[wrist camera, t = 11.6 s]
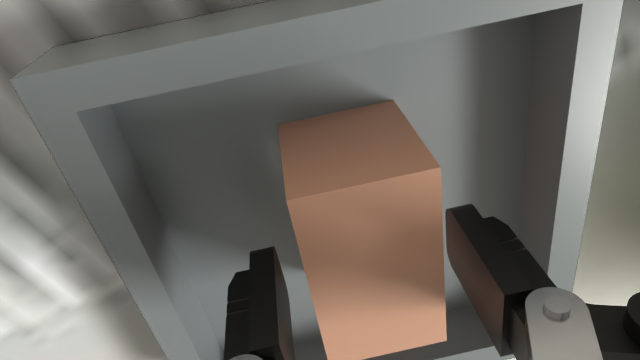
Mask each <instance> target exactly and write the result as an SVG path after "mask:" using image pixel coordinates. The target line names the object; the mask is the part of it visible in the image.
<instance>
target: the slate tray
mask: <svg viewBox="0 0 640 360" xmlns="http://www.w3.org/2000/svg"><path fill="white" fill-rule="evenodd" d="M622 6H623V0H272V1H268V2H263V3H258V4H253V5H249V6H244V7H239V8H235V9H230V10H225V11H220V12H216V13H211V14H206V15H201V16H197V17H192V18H187V19H183V20H178V21H173V22H168V23H164V24H159V25H154V26H150V27H145V28H140V29H135V30H131V31H126V32H121V33H116V34H112V35H107V36H102V37H98V38H93V39H88V40H83V41H79V42H74V43H69V44H64V45H60V46H55V47H52V48H51V49H50V50H48V51H47V52H46V53H44V54H43V55H42V56H40V57H39V58H38V59H36V60H35V61H34V62H32V63H31V64H30V65H28V66H27V67H26V68H24V69H23V70H22V71H20V72H19V73H18V74H16V75H15V76H14V77H12V78H11V79H10V82H11V84H12V86H13V88H14V89H15V91H16V93H17V95H18V96H19V98H20V100H21V102H22V103H23V105H24V107H25V109H26V110H27V112H28V114H29V116H30V118H31V119H32V121H33V123H34V125H35V126H36V128H37V130H38V132H39V133H40V135H41V137H42V139H43V140H44V142H45V144H46V146H47V148H48V149H49V151H50V153H51V155H52V156H53V158H54V160H55V162H56V163H57V165H58V167H59V169H60V170H61V172H62V174H63V176H64V178H65V179H66V181H67V183H68V185H69V186H70V188H71V190H72V192H73V193H74V195H75V197H76V199H77V200H78V202H79V204H80V206H81V208H82V209H83V211H84V213H85V215H86V216H87V218H88V220H89V222H90V223H91V225H92V227H93V229H94V230H95V232H96V234H97V236H98V238H99V239H100V241H101V243H102V245H103V246H104V248H105V250H106V252H107V253H108V255H109V257H110V259H111V260H112V262H113V264H114V266H115V268H116V269H117V271H118V273H119V275H120V276H121V278H122V280H123V282H124V283H125V285H126V287H127V289H128V290H129V292H130V294H131V296H132V298H133V299H134V301H135V303H136V305H137V306H138V308H139V310H140V312H141V313H142V315H143V317H144V319H145V320H146V322H147V324H148V326H149V328H150V329H151V331H152V333H153V335H154V336H155V338H156V340H157V342H158V343H159V345H160V347H161V349H162V350H163V352H164V354H165V356H166V358H167V359H168V360H224V345H225V329H226V316H227V313H226V312H227V304H228V302H227V296H228V286H229V284H230V282H231V280H232V278H233V277H234V275H235V273H236V272H240V271H244V270H249V260H250V251H255V250H259V249H264V248H268V247H273V246H274V247H275V249H276V252H277V255H278V259H279V262H280V265H281V269H282V272H283V275H284V279H285V282H286V286H287V290H288V296H289V303H290V313H291V324H292V334H293V345H294V355H295V360H328V359H327V355H326V351H325V348H324V344H323V340H322V336H321V332H320V328H319V325H318V321H317V317H316V313H315V309H314V305H313V301H312V298H311V294H310V290H309V286H308V282H307V278H306V275H305V271H304V267H303V263H302V259H301V255H300V252H299V248H298V244H297V240H296V236H295V232H294V228H293V225H292V221H291V217H290V213H289V209H288V205H287V202H286V194H285V185H284V176H283V168H282V159H281V150H280V142H279V133H278V125H279V124H284V123H288V122H293V121H298V120H302V119H307V118H312V117H316V116H321V115H326V114H330V113H335V112H340V111H345V110H349V109H354V108H359V107H363V106H368V105H373V104H377V103H382V102H387V101H391V100H394V101H395V103H396V104H397V106H398V107H399V108H400V110H401V111H402V113H403V114H404V116H405V117H406V118H407V120H408V121H409V123H410V124H411V125H412V127H413V128H414V130H415V131H416V133H417V134H418V135H419V137H420V138H421V140H422V141H423V143H424V144H425V145H426V147H427V148H428V150H429V151H430V153H431V154H432V155H433V157H434V158H435V160H436V161H437V162H438V164H439V165H440V167H441V185H442V215H443V244H444V274H445V303H446V332H447V341H443V342H439V343H434V344H430V345H425V346H421V347H416V348H412V349H407V350H403V351H398V352H394V353H389V354H385V355H380V356H376V357H371V358H367V359H362V360H507V359H511V358H515V356H514V354H512V355H507V356H503V357H500V355H499V353H498V351H497V350H496V348H495V346H494V344H493V342H492V340H491V339H490V337H489V335H488V333H487V331H486V329H485V327H484V326H483V324H482V322H481V320H480V318H479V316H478V315H477V313H476V311H475V309H474V307H473V305H472V304H471V302H470V300H469V298H468V296H467V294H466V292H465V291H464V289H463V287H462V285H461V283H460V281H459V280H458V278H457V276H456V274H455V272H454V270H453V268H452V266H451V264H450V261H449V258H448V254H447V248H446V221H445V212H446V209H448V208H452V207H457V206H462V205H466V204H473V205H474V206H475V208H476V209H477V211H478V212H479V213H480V215H481V216H482V217H483V218H487V217H492V216H494V217H495V218H497V219H499V220H500V221H502V222H504V223H505V224H507V225H509V227H510V228H511V229H512V231H513V232H514V233H515V234H516V236H517V237H518V240H520V241H521V242H522V243H523V245H524V246H525V247H526V250H528V251H529V252H530V254H531V255H532V256H533V257H534V259H535V260H536V261H537V262H538V264H539V265H540V266H541V268H542V269H543V270H544V271H545V273H546V274H547V275H548V276H549V278H550V279H551V280H552V282H553V283H554V284H555V285H556V287H557V288H561V289H564V290H567V291H570V292H572V291H573V285H574V279H575V274H576V268H577V262H578V257H579V251H580V245H581V239H582V234H583V228H584V222H585V217H586V211H587V205H588V200H589V194H590V188H591V182H592V177H593V171H594V165H595V160H596V154H597V148H598V143H599V137H600V131H601V125H602V120H603V114H604V108H605V103H606V97H607V91H608V86H609V80H610V74H611V68H612V63H613V57H614V51H615V46H616V40H617V34H618V29H619V23H620V17H621V11H622Z"/></svg>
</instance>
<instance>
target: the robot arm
mask: <svg viewBox="0 0 640 360" xmlns="http://www.w3.org/2000/svg"><path fill="white" fill-rule="evenodd" d="M445 221H446V248H447V254H448V258H449V261H450V264H451V266H452V268H453V270H454V272H455V274H456V276H457V278H458V280H459V281H460V283H461V285H462V287H463V289H464V291H465V292H466V294H467V296H468V298H469V300H470V302H471V304H472V305H473V307H474V309H475V311H476V313H477V315H478V316H479V318H480V320H481V322H482V324H483V326H484V327H485V329H486V331H487V333H488V335H489V337H490V339H491V340H492V342H493V344H494V346H495V348H496V350H497V351H498V353H499V355H500V357H503V356H507V355H512V354H514V356H515V358H516V359H517V360H640V292H639V293H636V294H635V295H633V296H632V297H631V298H630V299H629V301H628V304H627V306H609V305H593V304H587V303H585V302H584V301H583V300H582V299H581V298H579V297H578V296H577V295H575V294H574V293H572V292H570V291H567V290H564V289H561V288H557V287H556V285H555V284H554V283H553V282H552V280H551V279H550V278H549V276H548V275H547V274H546V273H545V271H544V270H543V269H542V268H541V266H540V265H539V264H538V262H537V261H536V260H535V259H534V257H533V256H532V255H531V254H530V252H529V251H528V250H526V247H525V246H524V245H523V243H522V242H521V241H520V240H518V237H517V236H516V234H515V233H514V232H513V231H512V229H511V228H510V227H509V225H507V224H505V223H504V222H502V221H500V220H499V219H497V218H495V217H494V216H492V217H487V218H483V217H482V216H481V215H480V213H479V212H478V211H477V209H476V208H475V206H474V205H473V204H466V205H462V206H457V207H452V208H448V209H446V212H445ZM227 302H228V304H227V312H226V313H227V316H226V329H225V345H224V360H295V355H294V345H293V334H292V324H291V313H290V303H289V296H288V290H287V286H286V282H285V279H284V275H283V272H282V269H281V265H280V262H279V259H278V255H277V252H276V249H275V247H274V246H273V247H268V248H264V249H259V250H255V251H250V260H249V270H244V271H240V272H236V273H235V275H234V277H233V278H232V280H231V282H230V284H229V286H228V296H227Z"/></svg>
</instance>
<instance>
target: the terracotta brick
mask: <svg viewBox="0 0 640 360" xmlns="http://www.w3.org/2000/svg"><path fill="white" fill-rule="evenodd" d="M278 133H279V142H280V150H281V159H282V168H283V176H284V185H285V194H286V202H287V205H288V209H289V213H290V217H291V221H292V225H293V228H294V232H295V236H296V240H297V244H298V248H299V252H300V255H301V259H302V263H303V267H304V271H305V275H306V278H307V282H308V286H309V290H310V294H311V298H312V301H313V305H314V309H315V313H316V317H317V321H318V325H319V328H320V332H321V336H322V340H323V344H324V348H325V351H326V355H327V359H328V360H362V359H367V358H371V357H376V356H380V355H385V354H389V353H394V352H398V351H403V350H407V349H412V348H416V347H421V346H425V345H430V344H434V343H439V342H443V341H447V332H446V303H445V274H444V244H443V215H442V185H441V167H440V165H439V164H438V162H437V161H436V160H435V158H434V157H433V155H432V154H431V153H430V151H429V150H428V148H427V147H426V145H425V144H424V143H423V141H422V140H421V138H420V137H419V135H418V134H417V133H416V131H415V130H414V128H413V127H412V125H411V124H410V123H409V121H408V120H407V118H406V117H405V116H404V114H403V113H402V111H401V110H400V108H399V107H398V106H397V104H396V103H395V101H394V100H391V101H387V102H382V103H377V104H373V105H368V106H363V107H359V108H354V109H349V110H345V111H340V112H335V113H330V114H326V115H321V116H316V117H312V118H307V119H302V120H298V121H293V122H288V123H284V124H279V125H278Z"/></svg>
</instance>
